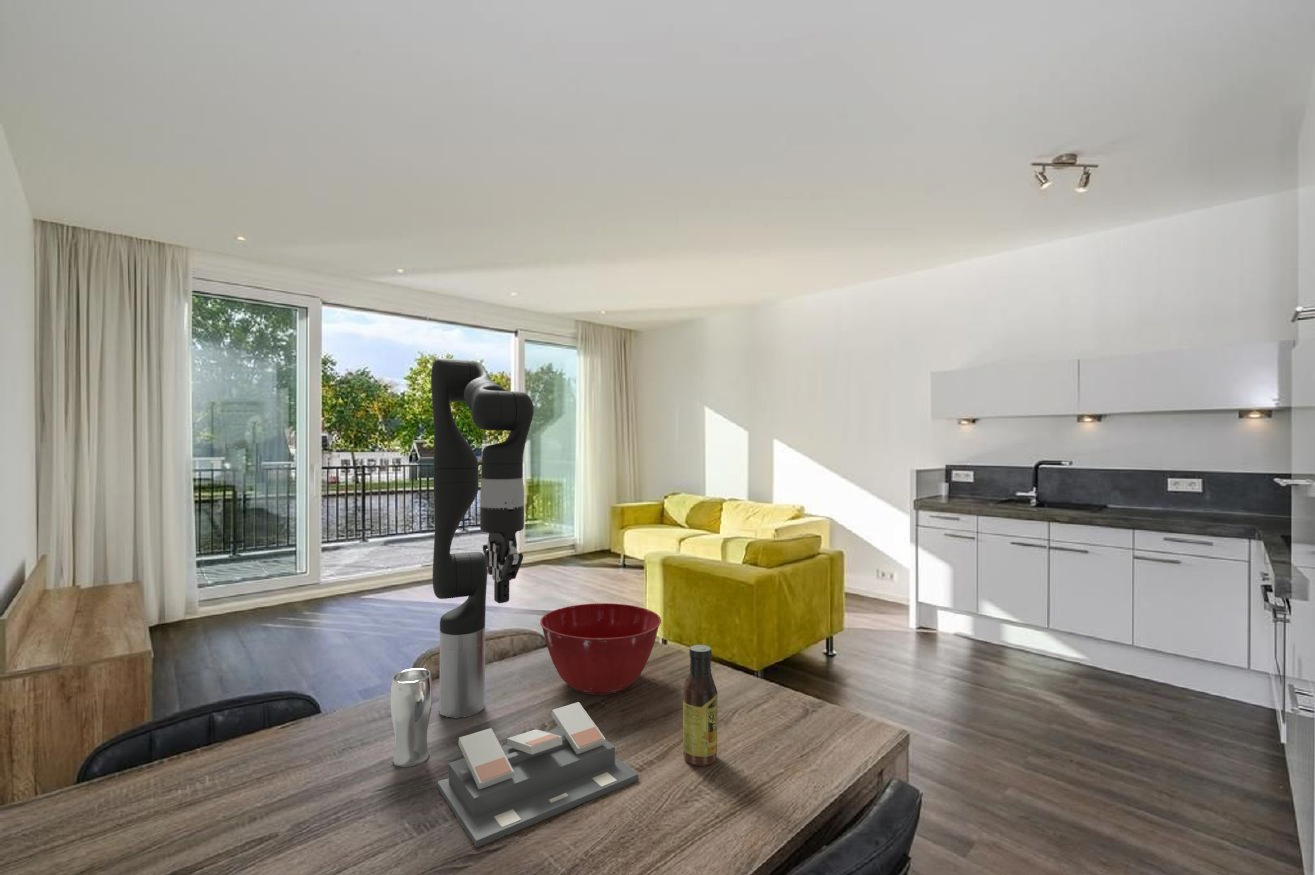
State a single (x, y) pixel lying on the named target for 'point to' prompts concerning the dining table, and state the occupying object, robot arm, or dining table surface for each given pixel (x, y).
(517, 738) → the switch
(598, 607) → the mixing bowl
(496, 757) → the switch
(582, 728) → the switch
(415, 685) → the beer glass
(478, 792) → the switch box
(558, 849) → the dining table surface
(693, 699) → the sauce bottle
